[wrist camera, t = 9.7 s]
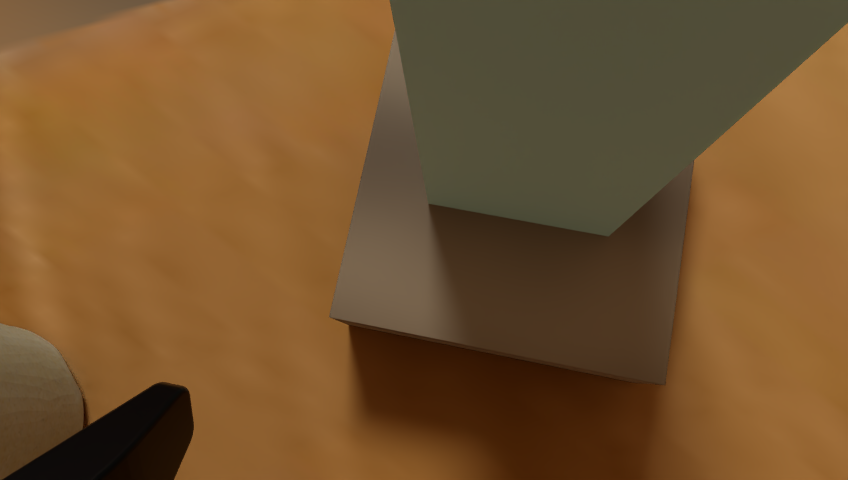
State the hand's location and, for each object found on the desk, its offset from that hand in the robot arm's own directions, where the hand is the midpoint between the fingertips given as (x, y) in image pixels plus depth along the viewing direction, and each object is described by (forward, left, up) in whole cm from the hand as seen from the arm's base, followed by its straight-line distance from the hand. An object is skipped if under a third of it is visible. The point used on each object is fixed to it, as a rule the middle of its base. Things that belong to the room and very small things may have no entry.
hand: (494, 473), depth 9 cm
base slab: (+6, -1, -11) cm, 13 cm away
